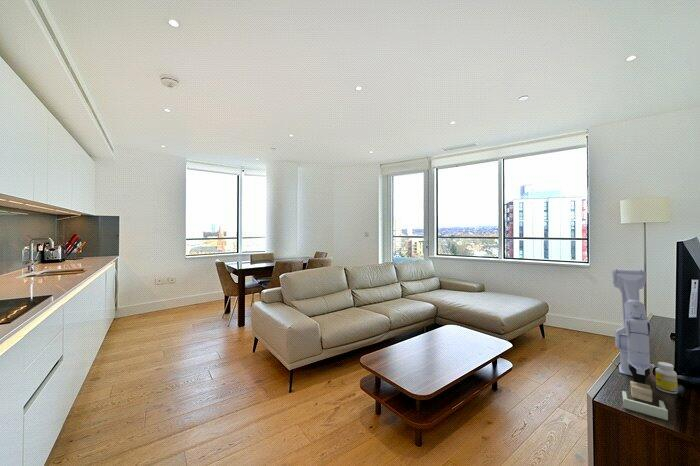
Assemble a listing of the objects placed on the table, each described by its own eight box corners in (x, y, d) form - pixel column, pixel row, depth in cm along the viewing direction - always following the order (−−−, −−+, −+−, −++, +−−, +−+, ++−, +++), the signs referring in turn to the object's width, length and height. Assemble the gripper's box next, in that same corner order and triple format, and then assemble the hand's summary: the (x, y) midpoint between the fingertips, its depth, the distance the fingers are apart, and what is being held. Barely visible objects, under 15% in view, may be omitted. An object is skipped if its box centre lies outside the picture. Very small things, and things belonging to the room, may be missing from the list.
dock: (622, 396, 101) (622, 387, 101) (663, 407, 94) (663, 398, 94) (623, 407, 94) (623, 398, 95) (668, 420, 88) (667, 410, 88)
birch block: (630, 391, 104) (630, 380, 104) (650, 396, 101) (649, 385, 101) (632, 397, 100) (631, 386, 100) (652, 402, 97) (651, 391, 97)
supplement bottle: (654, 384, 108) (653, 359, 108) (675, 389, 105) (674, 363, 105) (657, 390, 104) (656, 364, 104) (679, 395, 101) (678, 368, 101)
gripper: (656, 360, 97) (658, 399, 97) (651, 347, 107) (652, 382, 107) (628, 354, 101) (629, 391, 101) (625, 342, 112) (626, 376, 112)
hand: (639, 386), depth 105 cm, fingers closed
